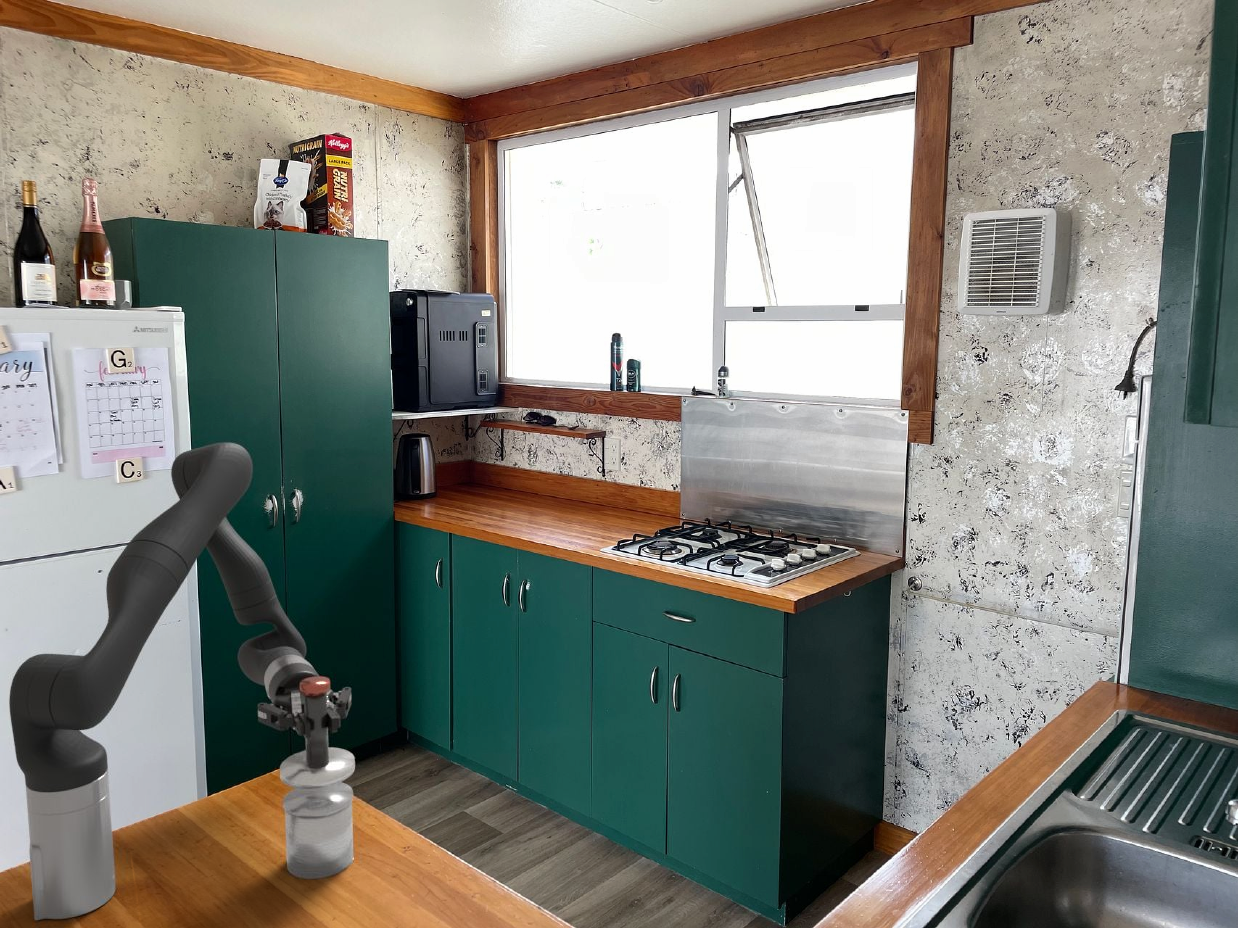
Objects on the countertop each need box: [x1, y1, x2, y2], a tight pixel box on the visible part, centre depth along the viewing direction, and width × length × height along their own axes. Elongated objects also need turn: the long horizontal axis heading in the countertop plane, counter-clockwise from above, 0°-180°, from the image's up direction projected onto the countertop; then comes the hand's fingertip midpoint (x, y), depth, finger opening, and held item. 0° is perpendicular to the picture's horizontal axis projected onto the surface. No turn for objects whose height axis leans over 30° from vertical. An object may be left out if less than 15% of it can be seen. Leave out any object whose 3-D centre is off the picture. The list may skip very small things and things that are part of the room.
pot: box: [282, 781, 354, 880], centre depth 132 cm, size 9×9×10 cm
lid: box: [279, 675, 356, 789], centre depth 130 cm, size 10×10×13 cm
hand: (321, 728), depth 127 cm, fingers closed on lid, 3 cm apart
